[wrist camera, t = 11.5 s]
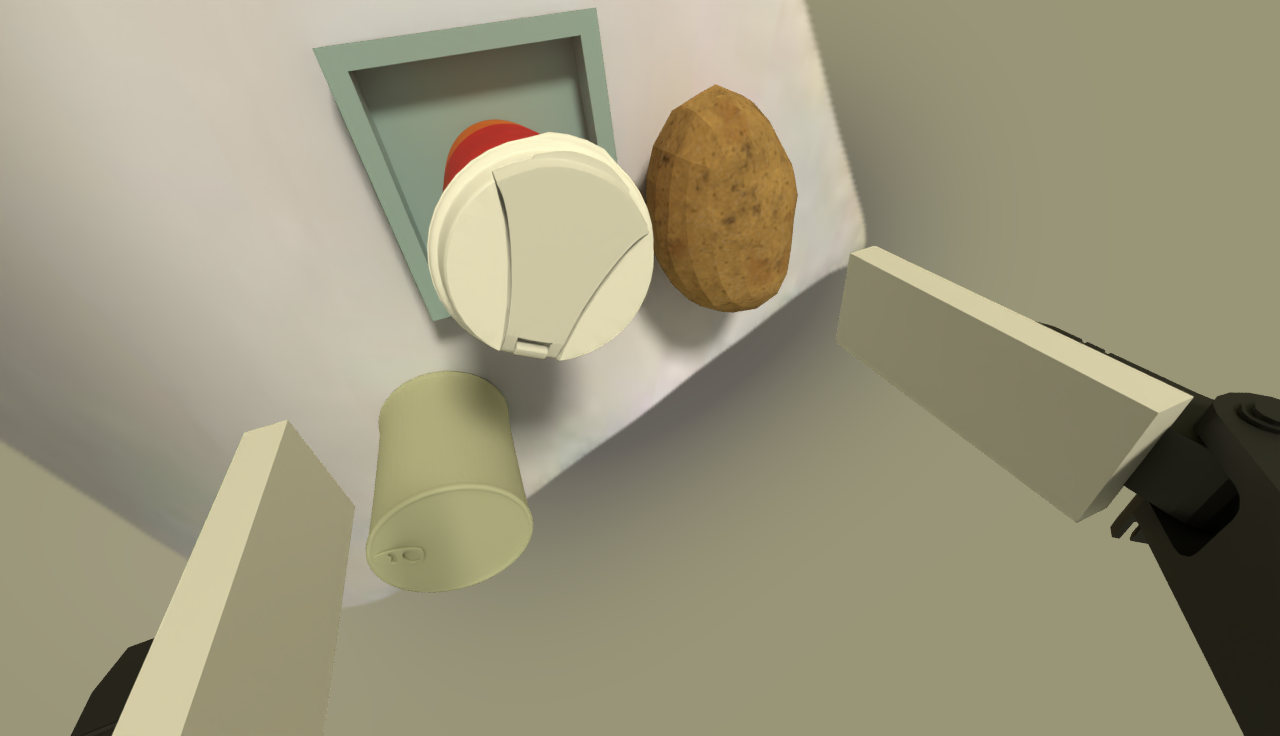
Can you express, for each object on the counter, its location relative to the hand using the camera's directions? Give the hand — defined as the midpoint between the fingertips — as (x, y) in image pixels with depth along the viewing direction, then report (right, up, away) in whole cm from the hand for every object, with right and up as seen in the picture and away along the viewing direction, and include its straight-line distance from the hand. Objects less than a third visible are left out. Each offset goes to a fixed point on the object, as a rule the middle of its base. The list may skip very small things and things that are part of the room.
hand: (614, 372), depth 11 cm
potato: (+4, +13, +22) cm, 26 cm away
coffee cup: (-8, +12, +17) cm, 22 cm away
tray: (-8, +12, +17) cm, 22 cm away
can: (-14, -4, +26) cm, 30 cm away
